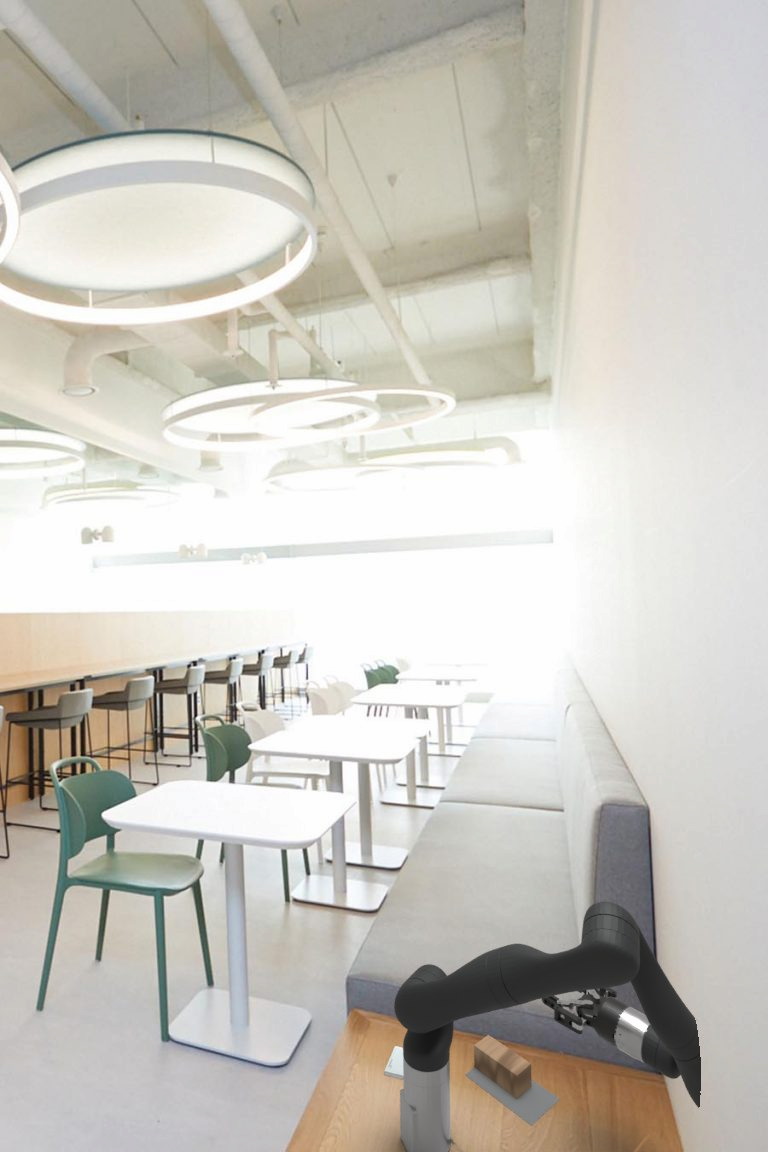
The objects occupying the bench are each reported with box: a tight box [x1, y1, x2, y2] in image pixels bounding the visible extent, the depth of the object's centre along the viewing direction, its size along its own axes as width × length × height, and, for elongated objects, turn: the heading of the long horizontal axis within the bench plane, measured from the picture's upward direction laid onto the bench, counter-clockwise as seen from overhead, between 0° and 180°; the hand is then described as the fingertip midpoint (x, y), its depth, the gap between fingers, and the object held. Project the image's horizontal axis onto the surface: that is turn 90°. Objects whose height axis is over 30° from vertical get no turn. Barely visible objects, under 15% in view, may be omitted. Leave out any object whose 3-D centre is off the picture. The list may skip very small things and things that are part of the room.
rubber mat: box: [464, 1066, 560, 1127], centre depth 140 cm, size 18×10×1 cm, turn 41°
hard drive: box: [383, 1045, 404, 1081], centre depth 147 cm, size 2×8×12 cm
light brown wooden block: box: [473, 1034, 532, 1099], centre depth 143 cm, size 5×5×12 cm
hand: (554, 986), depth 135 cm, fingers open, 8 cm apart
